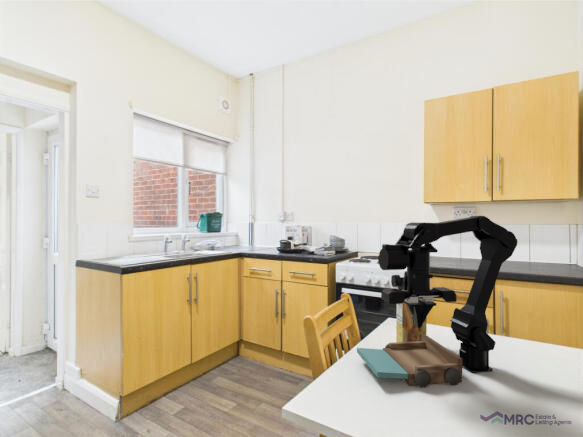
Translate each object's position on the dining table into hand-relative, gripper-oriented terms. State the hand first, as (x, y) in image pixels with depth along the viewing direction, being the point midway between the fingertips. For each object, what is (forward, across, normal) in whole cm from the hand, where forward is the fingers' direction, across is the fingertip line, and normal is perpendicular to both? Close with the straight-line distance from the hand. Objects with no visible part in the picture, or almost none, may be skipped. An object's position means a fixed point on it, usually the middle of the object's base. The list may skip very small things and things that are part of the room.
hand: (418, 327), depth 85 cm
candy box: (+12, -8, -19) cm, 24 cm away
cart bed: (+12, -1, -2) cm, 12 cm away
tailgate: (+10, +6, -1) cm, 12 cm away
